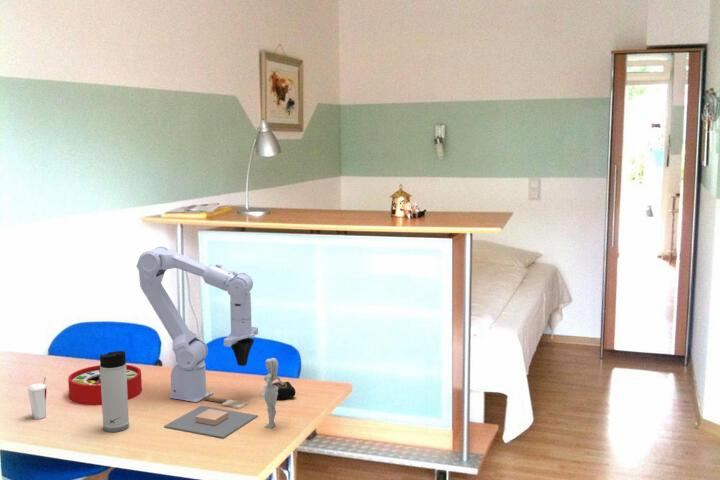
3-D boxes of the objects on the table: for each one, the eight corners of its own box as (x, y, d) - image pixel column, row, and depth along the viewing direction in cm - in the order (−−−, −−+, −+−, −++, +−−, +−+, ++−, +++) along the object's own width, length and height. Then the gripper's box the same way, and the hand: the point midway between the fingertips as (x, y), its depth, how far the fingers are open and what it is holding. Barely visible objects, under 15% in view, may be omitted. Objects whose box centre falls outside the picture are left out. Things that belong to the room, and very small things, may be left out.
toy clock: (54, 384, 209) (88, 363, 228) (55, 404, 209) (89, 381, 229) (124, 387, 207) (151, 365, 226) (125, 407, 207) (152, 383, 227)
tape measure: (296, 400, 213) (296, 387, 212) (272, 402, 211) (272, 389, 210) (290, 392, 219) (290, 379, 219) (267, 394, 217) (267, 382, 217)
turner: (200, 402, 211) (200, 398, 210) (208, 397, 214) (208, 394, 214) (239, 408, 205) (239, 405, 205) (247, 404, 209) (247, 400, 209)
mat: (164, 427, 192) (164, 425, 192) (201, 406, 207) (201, 405, 207) (223, 438, 185) (223, 437, 185) (257, 416, 200) (257, 415, 200)
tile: (209, 414, 200) (195, 422, 195) (209, 408, 200) (195, 416, 194) (228, 418, 198) (215, 426, 192) (228, 412, 197) (214, 420, 192)
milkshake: (54, 414, 202) (52, 378, 200) (39, 421, 197) (37, 384, 195) (40, 412, 203) (38, 376, 202) (26, 419, 198) (23, 382, 197)
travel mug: (115, 434, 188) (111, 356, 185) (97, 429, 191) (93, 352, 189) (135, 426, 193) (131, 350, 190) (117, 421, 197) (114, 346, 194)
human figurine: (276, 417, 199) (274, 351, 196) (289, 419, 198) (288, 352, 195) (254, 434, 188) (253, 364, 185) (268, 436, 186) (267, 366, 184)
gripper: (238, 325, 202) (240, 374, 204) (266, 313, 215) (267, 359, 217) (216, 322, 204) (218, 370, 206) (245, 311, 218) (246, 356, 219)
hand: (242, 365), depth 212 cm, fingers closed
